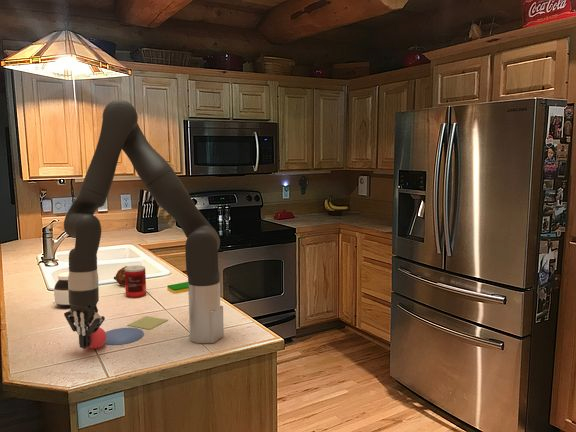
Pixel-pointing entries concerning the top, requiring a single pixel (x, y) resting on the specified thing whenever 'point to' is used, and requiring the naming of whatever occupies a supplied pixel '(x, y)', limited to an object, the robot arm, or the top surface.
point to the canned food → (135, 281)
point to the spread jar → (62, 291)
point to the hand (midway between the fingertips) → (84, 347)
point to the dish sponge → (178, 288)
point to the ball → (98, 338)
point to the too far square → (147, 322)
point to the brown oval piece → (120, 276)
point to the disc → (123, 336)
